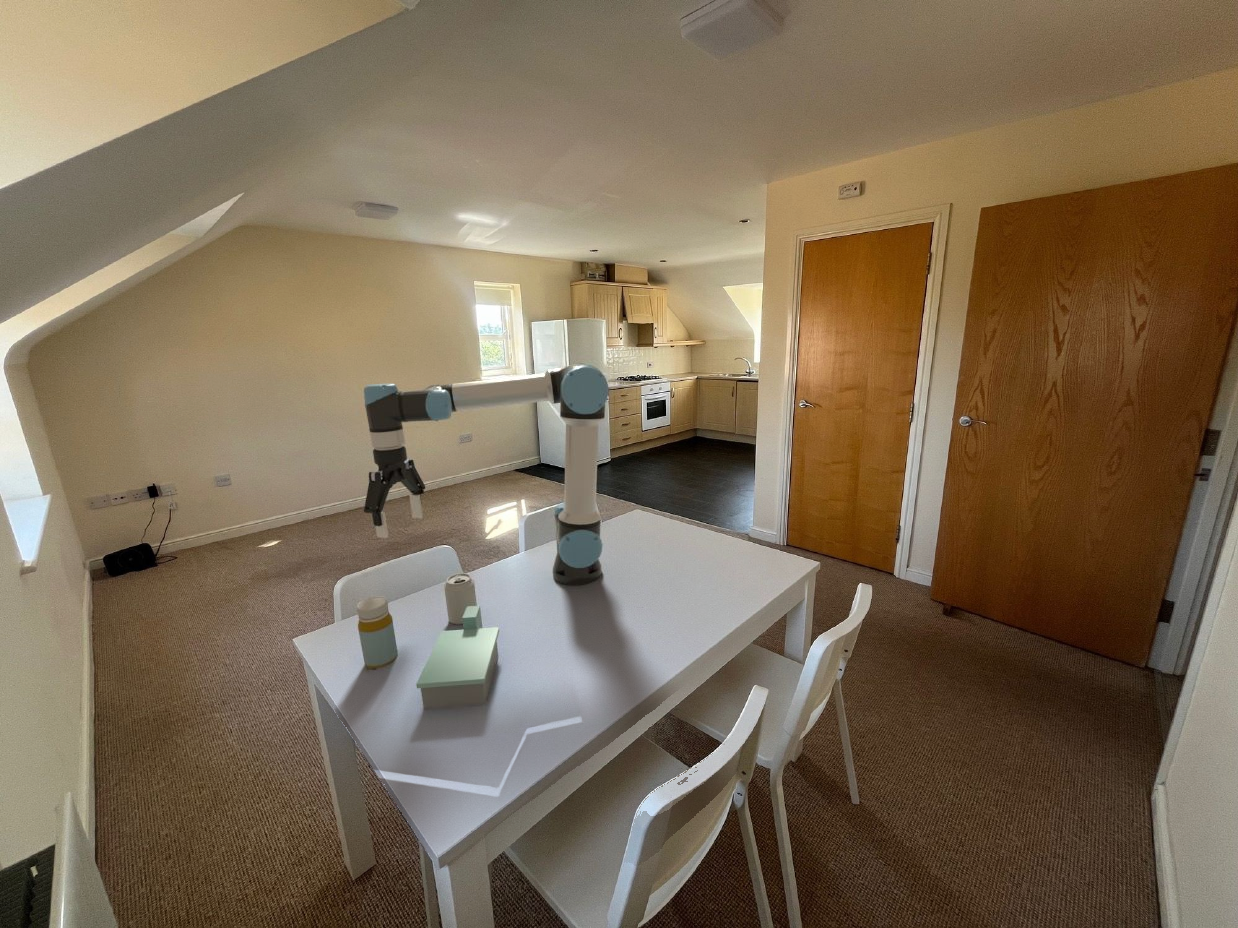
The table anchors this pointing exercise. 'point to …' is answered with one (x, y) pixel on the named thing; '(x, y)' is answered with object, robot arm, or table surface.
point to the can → (459, 596)
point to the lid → (461, 654)
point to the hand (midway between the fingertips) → (401, 527)
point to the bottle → (376, 632)
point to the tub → (459, 692)
